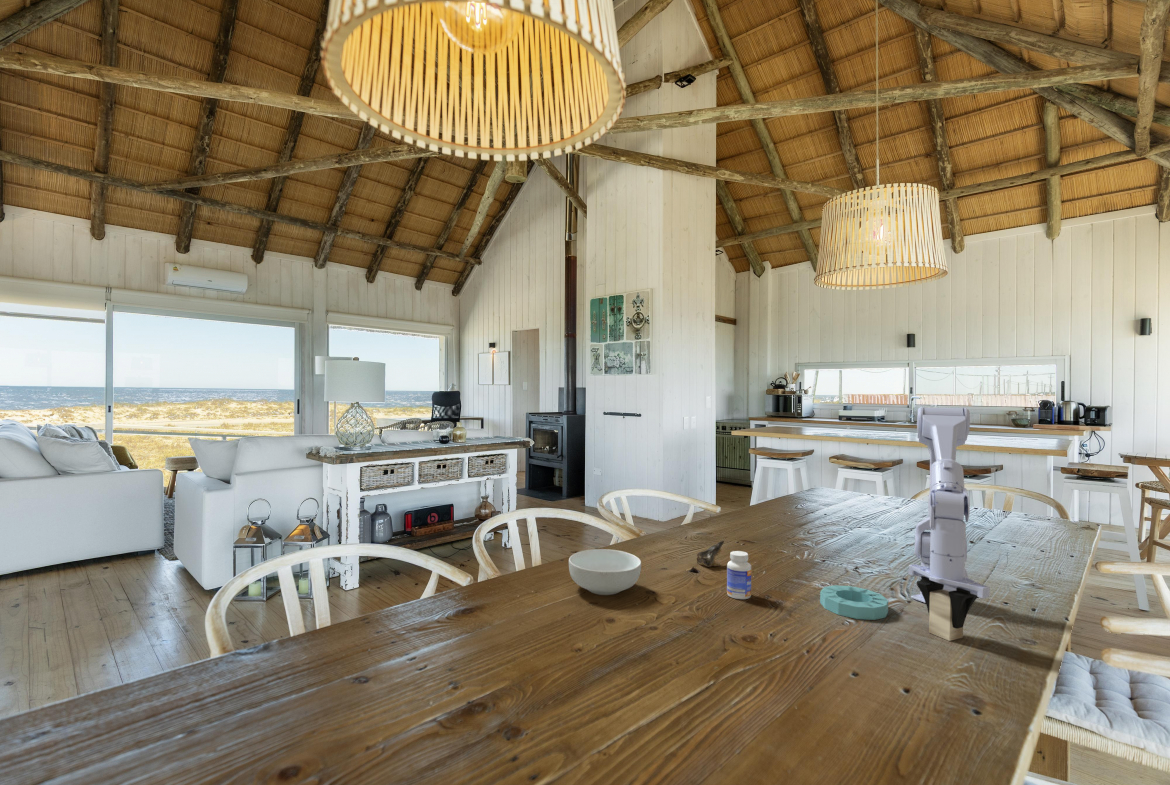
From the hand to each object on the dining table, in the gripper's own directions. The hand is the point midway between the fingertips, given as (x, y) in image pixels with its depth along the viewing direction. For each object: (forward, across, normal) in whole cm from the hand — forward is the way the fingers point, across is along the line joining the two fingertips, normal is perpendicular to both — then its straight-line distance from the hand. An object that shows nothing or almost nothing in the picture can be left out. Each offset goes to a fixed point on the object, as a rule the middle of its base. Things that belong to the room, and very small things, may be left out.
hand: (945, 622), depth 109 cm
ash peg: (+2, 0, 0) cm, 2 cm away
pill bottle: (+3, -32, -24) cm, 40 cm away
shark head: (+3, -52, -16) cm, 55 cm away
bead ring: (+2, -17, -5) cm, 18 cm away
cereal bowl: (+3, -47, -51) cm, 69 cm away
